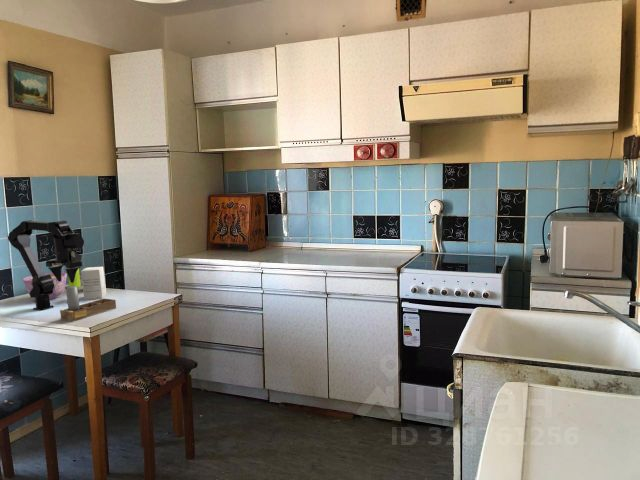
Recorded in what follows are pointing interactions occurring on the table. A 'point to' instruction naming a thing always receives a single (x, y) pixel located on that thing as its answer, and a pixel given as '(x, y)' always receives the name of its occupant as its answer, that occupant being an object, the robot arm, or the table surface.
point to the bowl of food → (58, 286)
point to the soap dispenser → (75, 280)
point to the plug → (72, 298)
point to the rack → (88, 309)
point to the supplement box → (93, 283)
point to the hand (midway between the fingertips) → (66, 281)
